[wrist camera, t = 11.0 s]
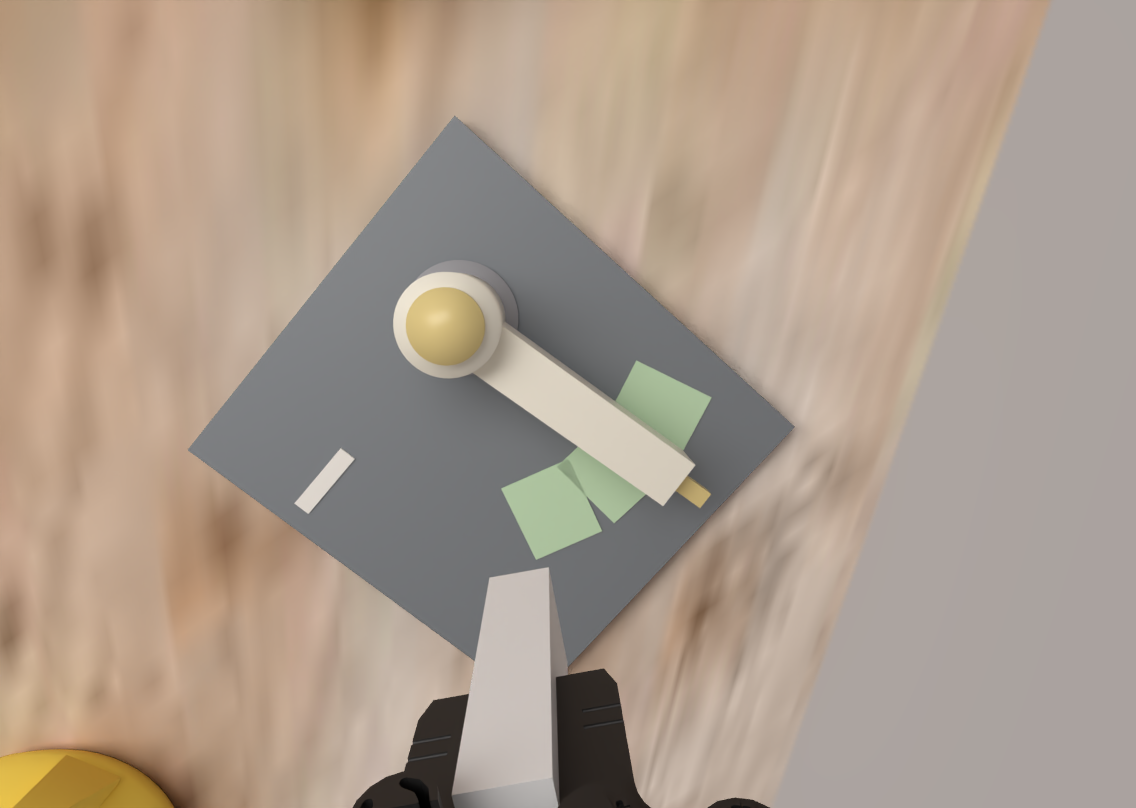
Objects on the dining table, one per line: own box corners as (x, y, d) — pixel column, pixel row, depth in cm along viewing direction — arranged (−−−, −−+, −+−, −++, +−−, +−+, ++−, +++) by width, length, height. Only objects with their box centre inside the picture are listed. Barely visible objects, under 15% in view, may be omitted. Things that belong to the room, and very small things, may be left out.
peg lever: (396, 329, 34) (368, 339, 29) (447, 254, 34) (430, 248, 28) (668, 518, 37) (691, 561, 32) (720, 452, 37) (753, 484, 31)
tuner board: (457, 121, 34) (453, 114, 33) (786, 422, 39) (796, 428, 37) (198, 444, 37) (184, 451, 35) (533, 691, 41) (532, 706, 40)
